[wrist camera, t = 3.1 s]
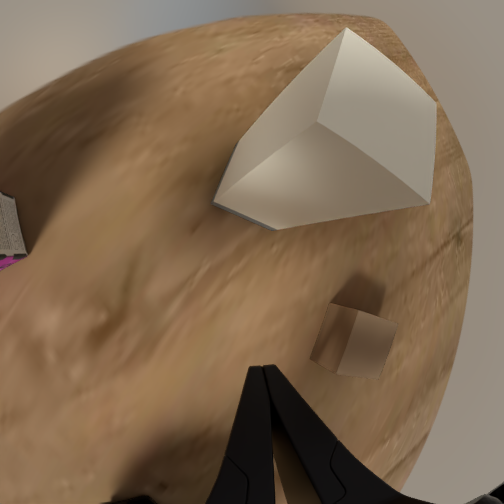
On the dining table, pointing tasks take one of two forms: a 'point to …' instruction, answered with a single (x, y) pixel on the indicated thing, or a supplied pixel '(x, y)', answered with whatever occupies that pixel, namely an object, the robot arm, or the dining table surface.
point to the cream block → (335, 143)
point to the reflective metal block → (353, 342)
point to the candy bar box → (10, 233)
